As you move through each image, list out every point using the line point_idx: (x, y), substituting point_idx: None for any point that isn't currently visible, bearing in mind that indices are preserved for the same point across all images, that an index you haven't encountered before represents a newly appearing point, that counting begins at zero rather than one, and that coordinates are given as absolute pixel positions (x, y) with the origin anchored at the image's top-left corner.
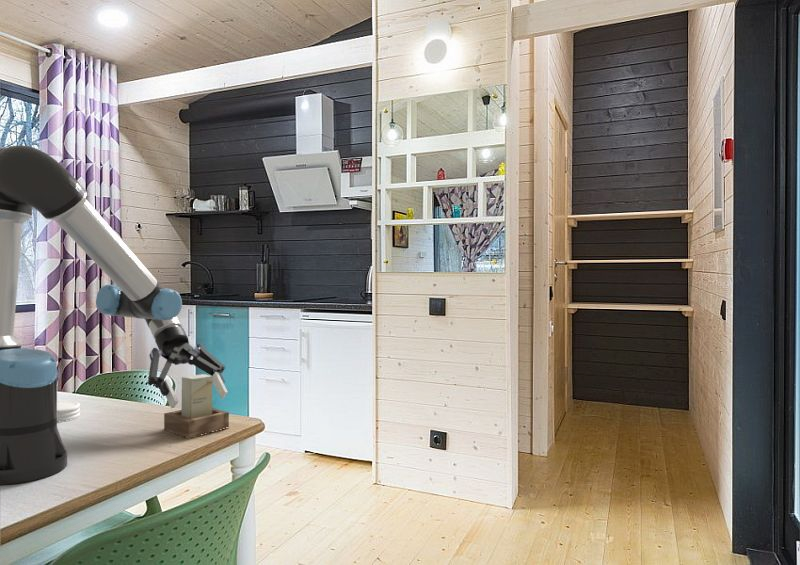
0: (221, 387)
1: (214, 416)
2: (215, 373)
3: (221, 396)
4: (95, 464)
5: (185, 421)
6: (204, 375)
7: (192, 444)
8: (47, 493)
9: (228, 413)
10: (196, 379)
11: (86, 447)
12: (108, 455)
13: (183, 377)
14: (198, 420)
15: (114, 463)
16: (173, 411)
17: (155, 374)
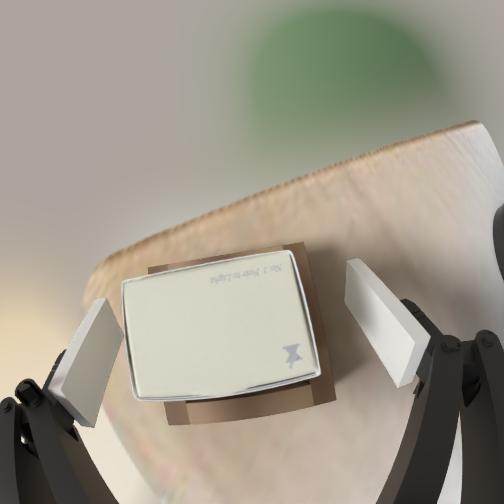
0: (98, 327)
1: (204, 259)
2: (64, 385)
3: (119, 330)
4: (465, 216)
5: (307, 262)
6: (152, 335)
7: (303, 209)
8: (483, 159)
9: (150, 268)
10: (251, 256)
11: (478, 329)
12: (454, 250)
13: (314, 357)
14: (267, 249)
15: (443, 200)
16: (299, 408)
17: (487, 358)
